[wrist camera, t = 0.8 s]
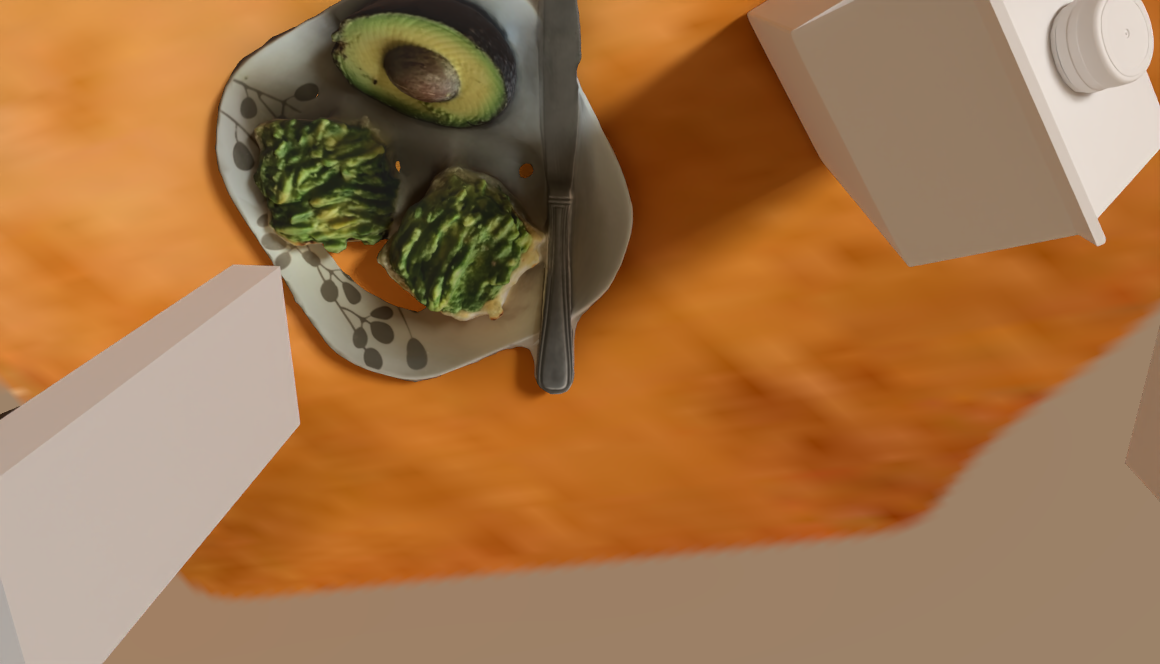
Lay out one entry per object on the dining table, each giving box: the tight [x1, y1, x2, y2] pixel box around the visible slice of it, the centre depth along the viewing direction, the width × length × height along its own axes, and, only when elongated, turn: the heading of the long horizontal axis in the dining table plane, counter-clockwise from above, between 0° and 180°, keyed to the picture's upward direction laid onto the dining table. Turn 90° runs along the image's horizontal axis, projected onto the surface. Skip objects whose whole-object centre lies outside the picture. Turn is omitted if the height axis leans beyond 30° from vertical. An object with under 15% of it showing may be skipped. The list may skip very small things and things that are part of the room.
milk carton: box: [747, 0, 1160, 267], centre depth 28 cm, size 7×7×19 cm
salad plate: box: [215, 0, 633, 394], centre depth 39 cm, size 19×18×5 cm
